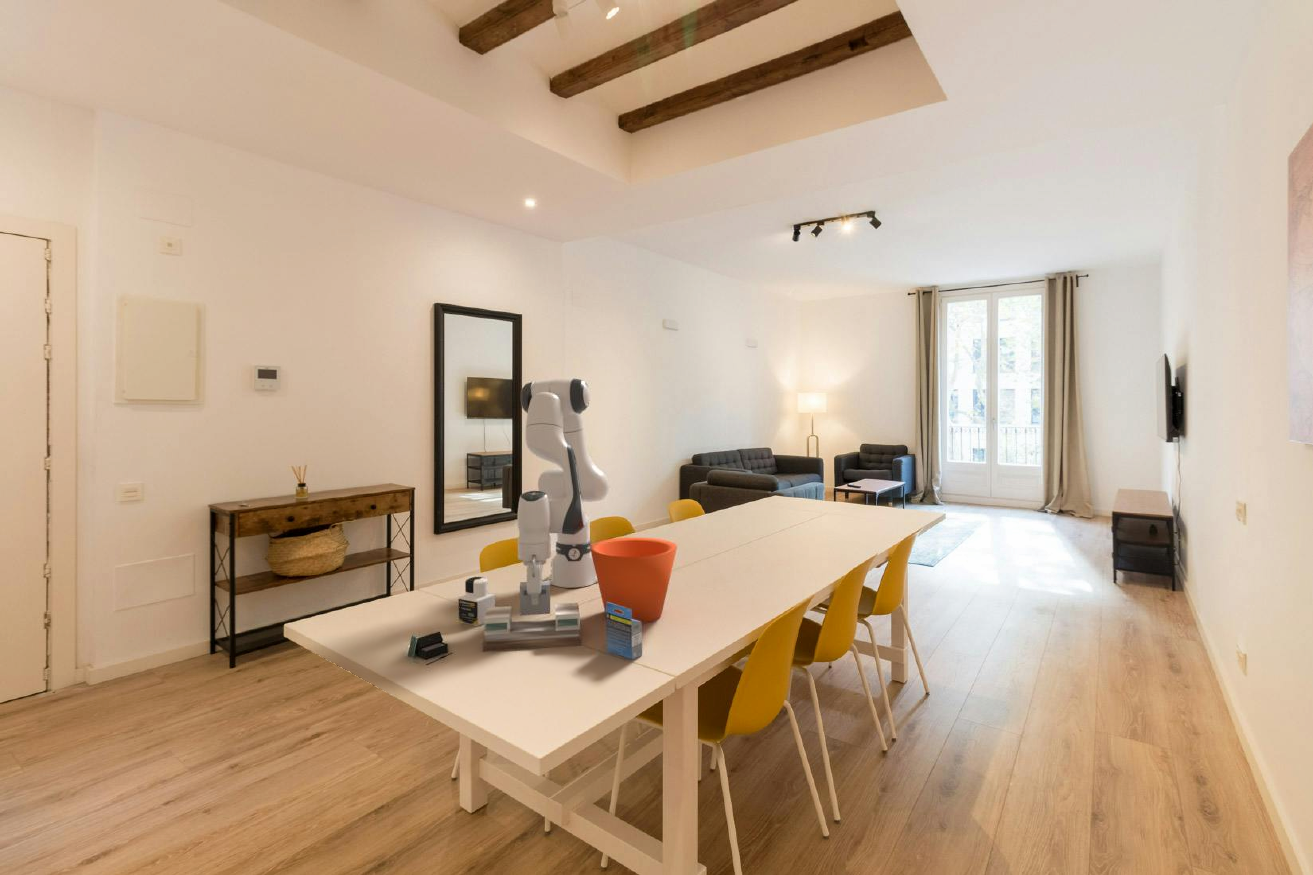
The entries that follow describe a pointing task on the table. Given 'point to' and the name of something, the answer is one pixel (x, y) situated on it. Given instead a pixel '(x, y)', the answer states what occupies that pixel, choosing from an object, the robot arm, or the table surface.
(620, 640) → the label tape box
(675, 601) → the table surface
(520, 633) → the rail board
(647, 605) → the flowerpot
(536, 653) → the table surface
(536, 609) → the block
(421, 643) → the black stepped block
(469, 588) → the medicine bottle
